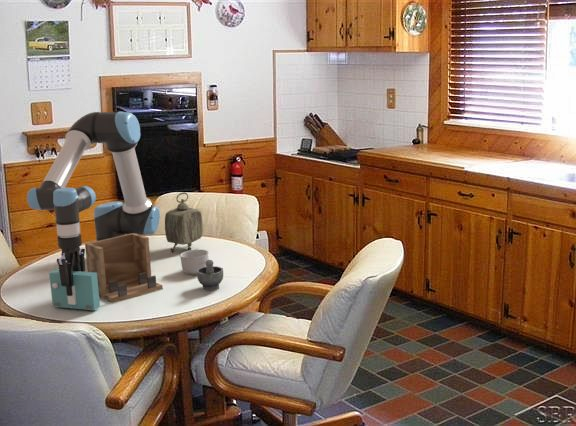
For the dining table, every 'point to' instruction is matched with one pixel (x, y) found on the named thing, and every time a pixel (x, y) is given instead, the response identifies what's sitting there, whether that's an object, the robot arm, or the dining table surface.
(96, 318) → the dining table surface
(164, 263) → the dining table surface
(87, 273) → the door
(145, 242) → the cabinet
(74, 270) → the robot arm
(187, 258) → the teacup
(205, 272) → the mortar and pestle
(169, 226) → the tabletop clock
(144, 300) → the dining table surface
